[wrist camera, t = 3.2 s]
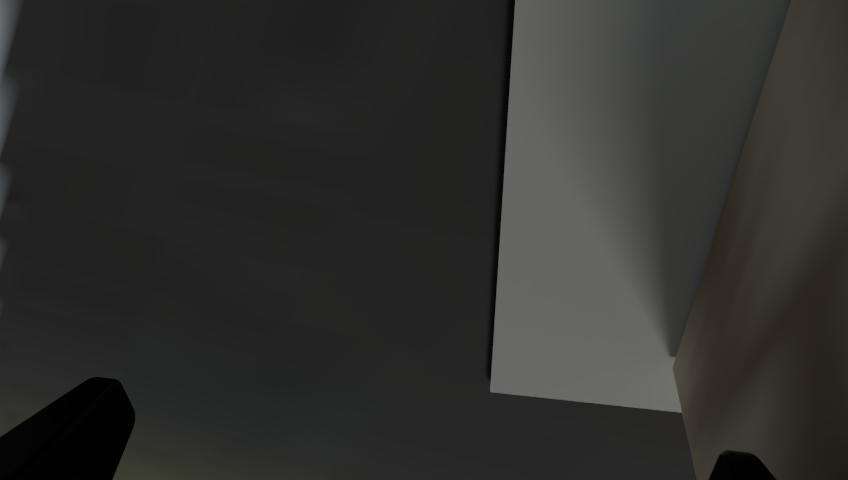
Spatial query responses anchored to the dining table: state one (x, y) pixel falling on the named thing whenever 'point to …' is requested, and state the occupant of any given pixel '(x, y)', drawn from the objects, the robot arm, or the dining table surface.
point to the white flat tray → (618, 186)
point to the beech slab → (780, 272)
